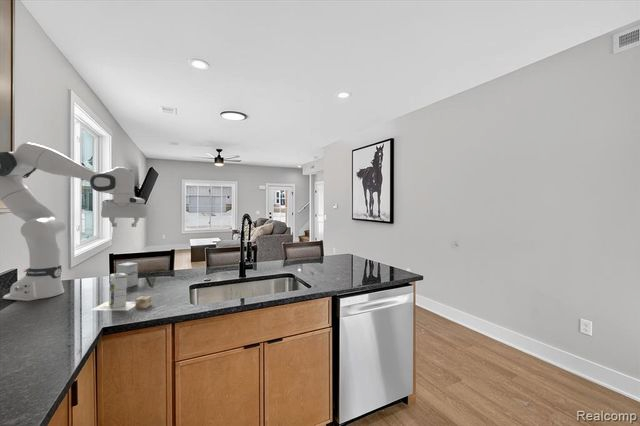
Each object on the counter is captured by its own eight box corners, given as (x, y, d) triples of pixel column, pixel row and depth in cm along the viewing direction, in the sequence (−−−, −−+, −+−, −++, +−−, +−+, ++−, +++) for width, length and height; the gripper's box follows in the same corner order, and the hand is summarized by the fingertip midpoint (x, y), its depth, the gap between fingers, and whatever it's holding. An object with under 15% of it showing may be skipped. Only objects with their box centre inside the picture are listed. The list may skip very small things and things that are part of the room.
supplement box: (127, 288, 157) (127, 265, 156) (115, 287, 158) (115, 264, 158) (138, 284, 164) (138, 262, 164) (127, 283, 166) (127, 261, 165)
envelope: (89, 311, 124) (89, 310, 124) (106, 302, 135) (106, 301, 135) (127, 311, 125) (127, 310, 125) (141, 302, 136) (141, 301, 136)
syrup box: (108, 305, 130) (108, 274, 130) (124, 302, 134) (124, 272, 134) (111, 309, 126) (111, 276, 126) (126, 305, 130) (127, 274, 130)
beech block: (135, 309, 128) (135, 299, 128) (140, 305, 133) (140, 296, 132) (145, 309, 128) (146, 299, 128) (151, 305, 133) (151, 296, 133)
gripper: (98, 199, 140) (98, 227, 140) (141, 199, 142) (141, 227, 142) (106, 199, 147) (106, 226, 147) (148, 200, 149) (148, 226, 149)
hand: (124, 226), depth 145 cm, fingers open, 8 cm apart
